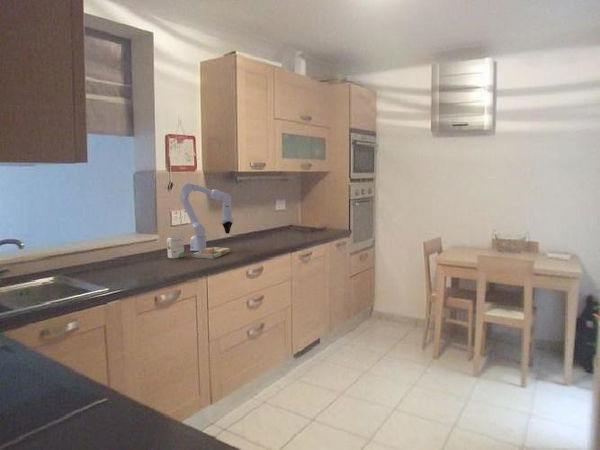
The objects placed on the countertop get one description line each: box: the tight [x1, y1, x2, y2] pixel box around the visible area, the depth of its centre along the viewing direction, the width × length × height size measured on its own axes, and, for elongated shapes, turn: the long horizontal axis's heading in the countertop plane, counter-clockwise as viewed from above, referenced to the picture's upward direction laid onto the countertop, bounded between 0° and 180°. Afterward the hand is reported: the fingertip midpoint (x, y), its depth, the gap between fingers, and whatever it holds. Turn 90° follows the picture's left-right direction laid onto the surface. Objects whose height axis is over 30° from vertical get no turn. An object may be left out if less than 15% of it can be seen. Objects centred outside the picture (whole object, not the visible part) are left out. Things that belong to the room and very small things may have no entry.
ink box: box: [166, 231, 185, 259], centre depth 264 cm, size 9×5×15 cm, turn 135°
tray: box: [192, 251, 221, 260], centre depth 266 cm, size 14×9×2 cm
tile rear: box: [203, 247, 214, 253], centre depth 267 cm, size 5×5×2 cm
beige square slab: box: [202, 246, 231, 257], centre depth 276 cm, size 13×12×2 cm
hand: (227, 233), depth 289 cm, fingers closed
